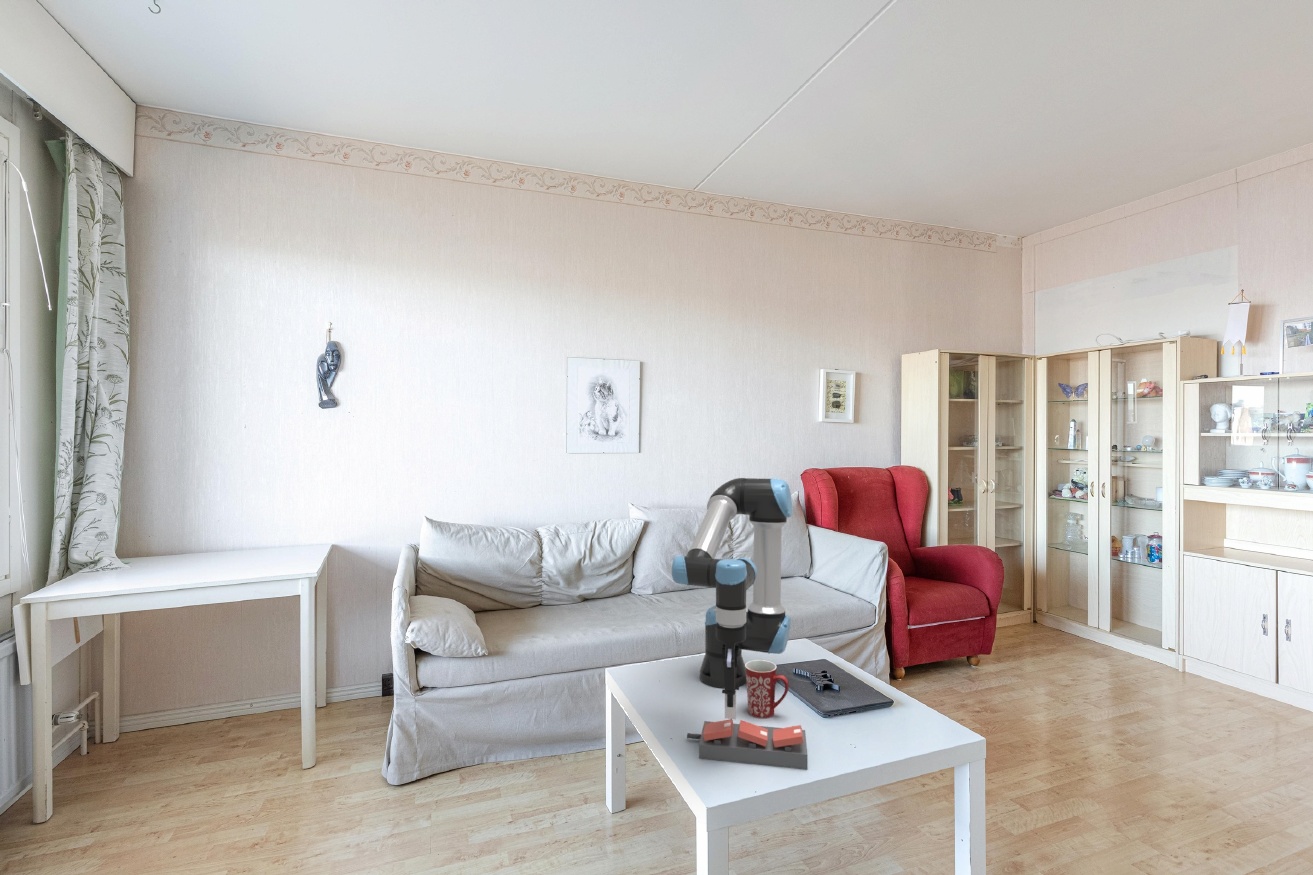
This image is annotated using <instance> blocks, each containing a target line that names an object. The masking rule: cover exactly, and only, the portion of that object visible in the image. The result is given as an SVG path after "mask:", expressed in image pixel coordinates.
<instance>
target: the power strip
mask: <svg viewBox="0 0 1313 875" xmlns="http://www.w3.org/2000/svg"><path fill="white" fill-rule="evenodd" d="M712 722H713V721H707V720H704V721H703V726H702V730H701V733H700V734H698V733H688V732H687V734H686V739H692V740H699V742H698V758H699V759H701V760H702V759H703V760H713V761H723V762H724V761H725V762H733V763H741V764H753V765H763V766H771V767H773V766H774V767H780V768H781V767H783V768H790V769H791V768H792V769H800V770H801V769H803V770H808V745H807V735H806V730H805V729H802V731H803V743H800V744H793V745H787V746H781V747H774V743H773V730H775V729H780V728H781V727H774V726H765V725H759V726H760V727H763V728H766V729H768V740H767V744H766V747H765V746H762V745H760V744H757V743H754V742H751V741H748V740H746V739H743V738H740V737H738V730H739V724H740V723H733V724H734V727H733V734H732V736H730V737H724V738H718V739H712V740H707V741H705V740H704V736H703V732H704V728H705V724H706V723H712Z"/></svg>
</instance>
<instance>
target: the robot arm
mask: <svg viewBox="0 0 1313 875" xmlns="http://www.w3.org/2000/svg"><path fill="white" fill-rule="evenodd" d="M706 510H707V511H706V513H705V515H704V517H703V519H702V521H701V523H700V526H699V528H698V530H697V532H696V534H695V536H694V538H693V541H692V543H691V545H690V547H689V549H688V552H687V553H686V555H678V556H675V557H674V559H673V562H672V565H671V577H672V580H673V581H674V583H676V584H680V585H686V586H693V587H705V588H706V587H707V588H715V605H714V606H711V607H709V608H708V609H707V610H706V611H705V622H704V628H705V630H704V632H705V634H704V635H705V636H704V637H705V639H704V640H705V642H704V643H705V645H704V647H705V653H704V657H703V660H702V662H701V666H700V670H699V679H700V681H701V682H702V683H704V684H706V685H708V686H710V687H714V688H723V689H722V690H721V694H724V720H729V719H732V720H736V718H737V691H740V690H739V689H740V686H743V685H744V684H746V683H747V681H746V668H745V664H746V663H745V661H744V659H743V655H742V650H744V651H751V652H758V653H764V654H768V655H770V654H773V655H774V654H777V655H781V654H783V653H784V652H785V650H786V648H787V645H788V640H789V638H790V637H789V636H790V632H791V630H790V629H791V621H792V620H791V617H790V616H788V615H786V608H785V607H784V606H783V605H782V603H781V597H782V596H781V595H782V594H781V593H782V589H781V588H782V587H781V586H782V585H781V584H782V581H781V580H782V532H783V531H782V528H783V527H784V526H785V525H786V524H787V519H788V518H790V517H792V515H793V499H792V494H791V489H790V486H789V484H788V481H786V480H785V479H778V478H773V477H772V478H750V477H747V478H746V477H738V478H733V479H730V480H729V481H727V482H725V483H723V484H721V485H720V486H719V487H718V488H717V489H716V490H715V491H714V492H713V493H712V494H711V495H710V496H709V499H708V501H707V503H706ZM737 515H745V516H747V515H748V519H749V520H748V522H749V523H750V524H751V525H752V526H753V560H751V559H749V558H746V557H741V558H740V557H739V558H736V559H735V558H727V559H726V558H724V559H719V558H716V555H717V553H718V550H719V549H720V546H721V543H722V541H723V539H724V537H725V534H726V532H727V528H728V526H729V525H730V521H732V520H733V519H734V518H735V517H736V516H737ZM751 587H752V602H751V603H750V604H749V605H748V606H747V591H748V590H749V588H751Z"/></svg>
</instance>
